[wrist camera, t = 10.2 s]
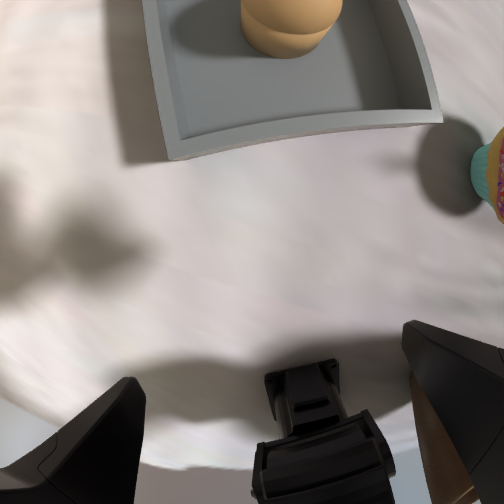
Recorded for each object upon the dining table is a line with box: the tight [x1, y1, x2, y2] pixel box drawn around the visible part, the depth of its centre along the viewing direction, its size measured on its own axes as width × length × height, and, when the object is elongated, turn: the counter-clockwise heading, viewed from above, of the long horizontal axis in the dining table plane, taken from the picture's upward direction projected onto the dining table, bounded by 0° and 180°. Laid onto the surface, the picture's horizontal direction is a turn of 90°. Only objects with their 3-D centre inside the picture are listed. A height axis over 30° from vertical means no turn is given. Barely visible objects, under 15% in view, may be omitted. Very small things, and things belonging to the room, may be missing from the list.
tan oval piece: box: [240, 0, 342, 59], centre depth 11 cm, size 5×5×7 cm
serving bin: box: [142, 0, 444, 160], centre depth 13 cm, size 16×16×4 cm
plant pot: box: [410, 372, 479, 504], centre depth 17 cm, size 15×15×16 cm
